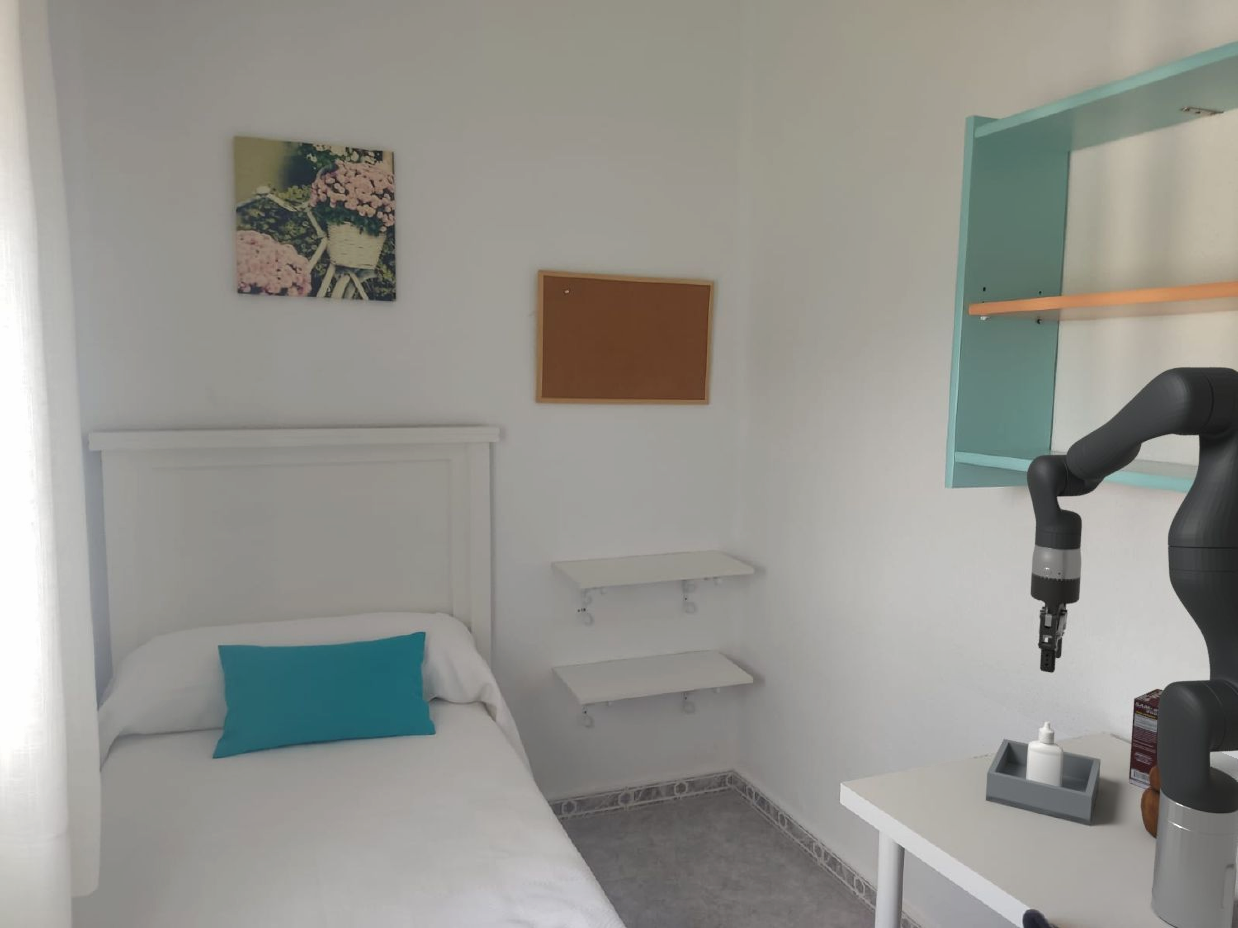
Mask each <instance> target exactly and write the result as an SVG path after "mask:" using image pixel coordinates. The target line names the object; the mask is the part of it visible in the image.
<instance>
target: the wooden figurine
mask: <svg viewBox="0 0 1238 928" xmlns="http://www.w3.org/2000/svg"><path fill="white" fill-rule="evenodd" d="M1149 782H1150V785H1151V786H1150V787H1148V788H1147V789H1144V791H1143V792H1142V795H1141V798H1140V811H1141V819H1142V822H1143V825H1144V828H1145V830H1146V832H1147V833H1148V834H1150V835H1151V836H1153V838H1155V839H1156V837H1157V825H1158V813H1159V800H1160V785H1161V777H1160V772H1159V768H1158V762H1157V763H1156V765H1155V766H1154V767H1152V768H1151V771H1150V773H1149Z"/></svg>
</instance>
